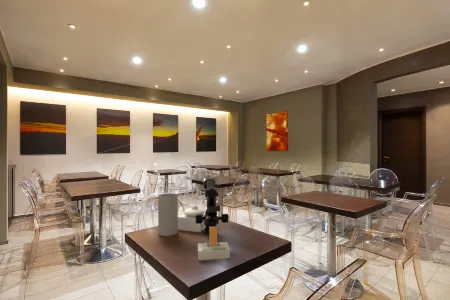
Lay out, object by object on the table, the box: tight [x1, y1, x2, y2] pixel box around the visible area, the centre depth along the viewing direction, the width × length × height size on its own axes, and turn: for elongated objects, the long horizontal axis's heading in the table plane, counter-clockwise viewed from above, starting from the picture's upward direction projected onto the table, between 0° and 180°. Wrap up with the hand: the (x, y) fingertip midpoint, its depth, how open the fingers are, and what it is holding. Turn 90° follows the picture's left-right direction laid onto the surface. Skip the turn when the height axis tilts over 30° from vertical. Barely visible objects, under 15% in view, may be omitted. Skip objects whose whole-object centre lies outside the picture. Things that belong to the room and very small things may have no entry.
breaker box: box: [197, 241, 231, 261], centre depth 125 cm, size 10×16×6 cm, turn 96°
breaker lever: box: [208, 226, 218, 245], centre depth 126 cm, size 2×4×9 cm, turn 97°
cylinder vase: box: [157, 192, 179, 237], centre depth 156 cm, size 12×12×25 cm
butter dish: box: [178, 204, 206, 233], centre depth 169 cm, size 18×18×16 cm
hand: (212, 232), depth 130 cm, fingers closed
